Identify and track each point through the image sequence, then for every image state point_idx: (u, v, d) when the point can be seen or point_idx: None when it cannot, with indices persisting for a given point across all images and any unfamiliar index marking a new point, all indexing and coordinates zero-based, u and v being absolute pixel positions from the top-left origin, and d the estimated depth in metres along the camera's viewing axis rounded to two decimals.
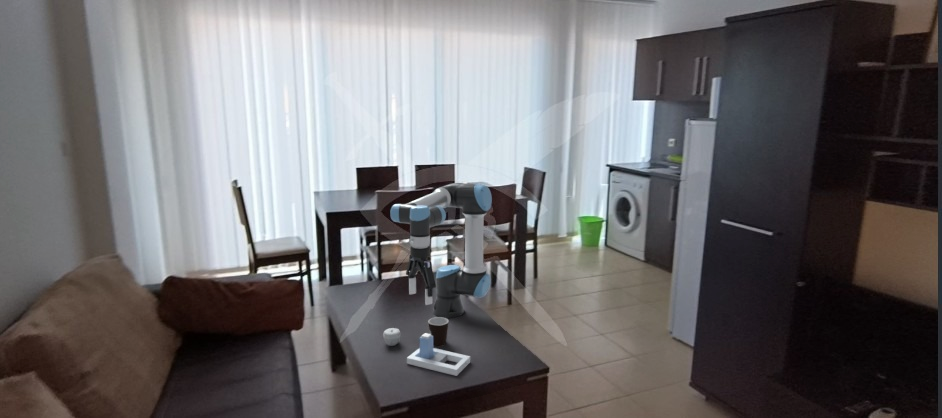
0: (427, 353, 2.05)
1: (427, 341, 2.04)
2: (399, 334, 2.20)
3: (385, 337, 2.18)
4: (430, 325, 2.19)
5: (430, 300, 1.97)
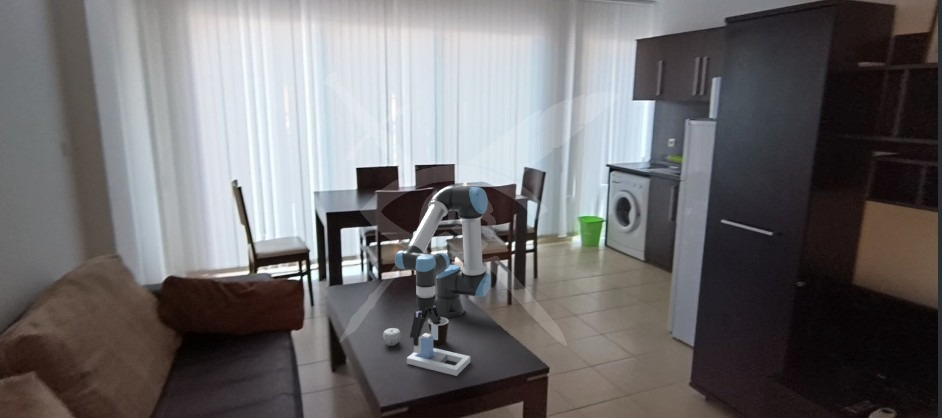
0: (427, 353, 2.05)
1: (427, 341, 2.04)
2: (399, 334, 2.20)
3: (385, 337, 2.18)
4: (430, 325, 2.19)
5: (417, 349, 2.00)
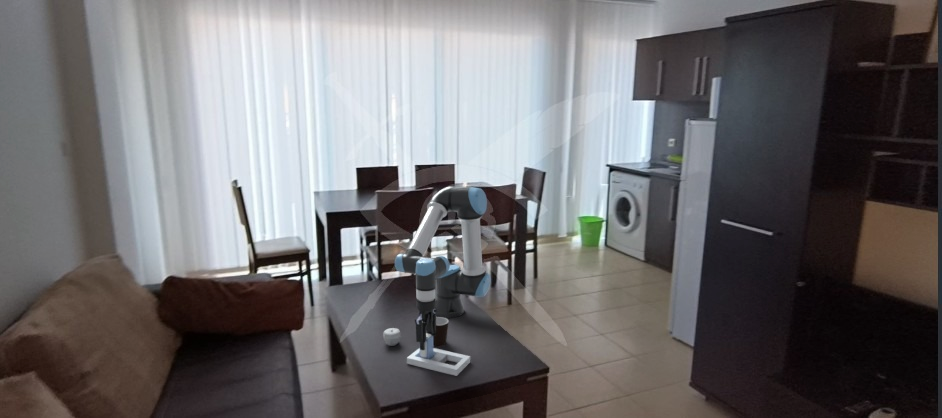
0: (427, 353, 2.05)
1: (427, 341, 2.04)
2: (399, 334, 2.20)
3: (385, 337, 2.18)
4: None
5: (424, 353, 2.05)
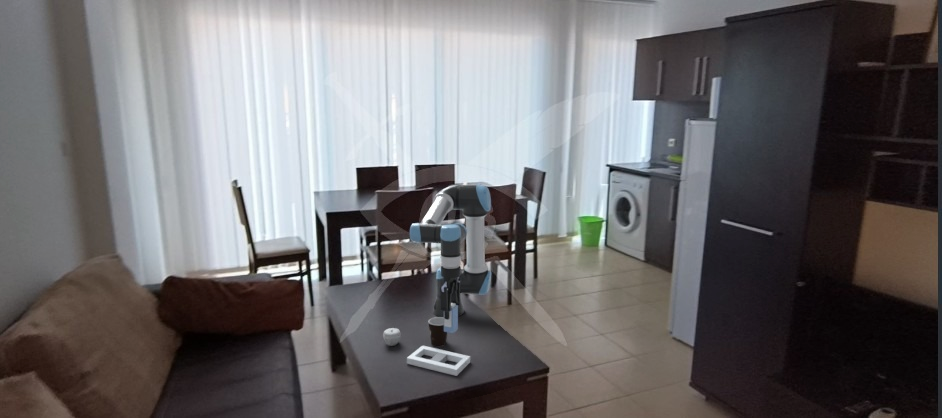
0: None
1: (452, 310, 1.96)
2: (399, 334, 2.20)
3: (385, 337, 2.18)
4: (430, 325, 2.19)
5: (448, 323, 1.97)
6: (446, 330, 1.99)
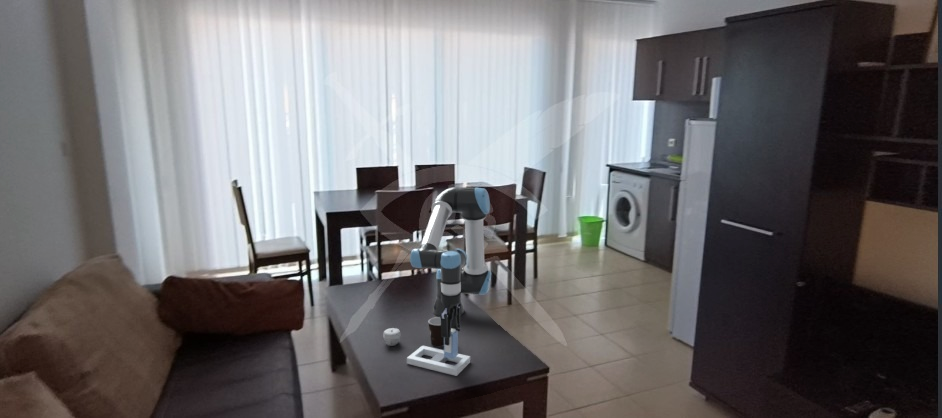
0: None
1: (452, 336, 1.98)
2: (399, 334, 2.20)
3: (385, 337, 2.18)
4: (430, 325, 2.19)
5: (448, 349, 1.99)
6: (446, 355, 2.01)
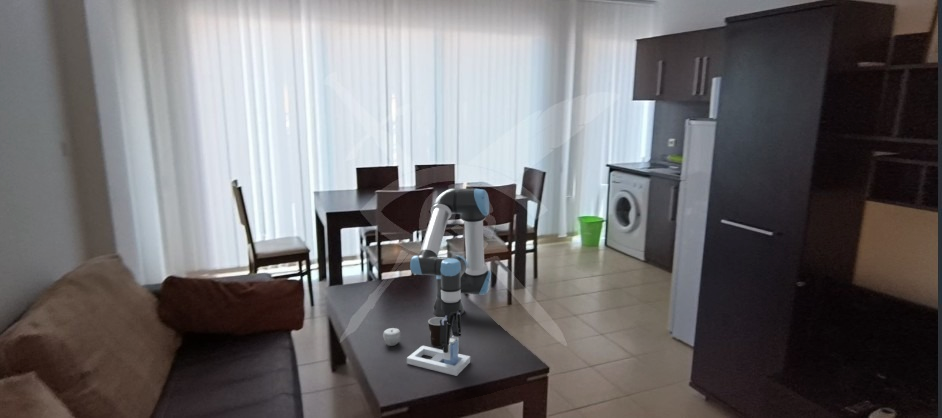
0: (451, 359, 2.00)
1: (452, 346, 1.99)
2: (399, 334, 2.20)
3: (385, 337, 2.18)
4: (430, 325, 2.19)
5: (447, 356, 1.99)
6: None
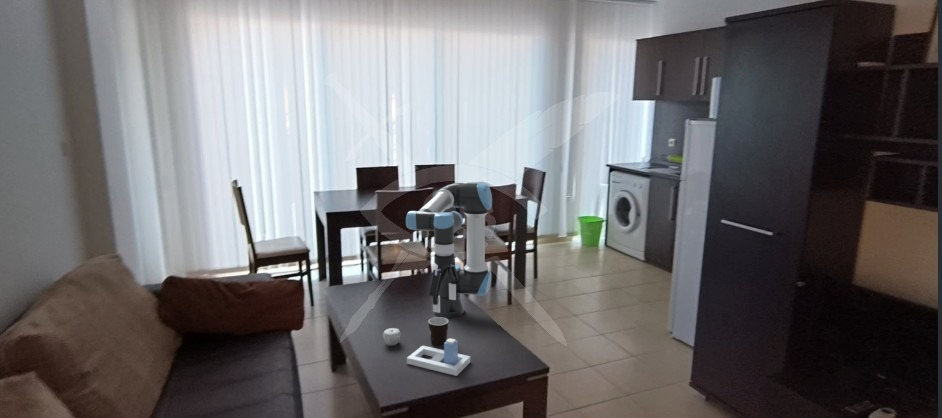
0: (451, 359, 2.00)
1: (452, 347, 1.99)
2: (399, 334, 2.20)
3: (385, 337, 2.18)
4: (430, 325, 2.19)
5: (437, 308, 1.96)
6: None
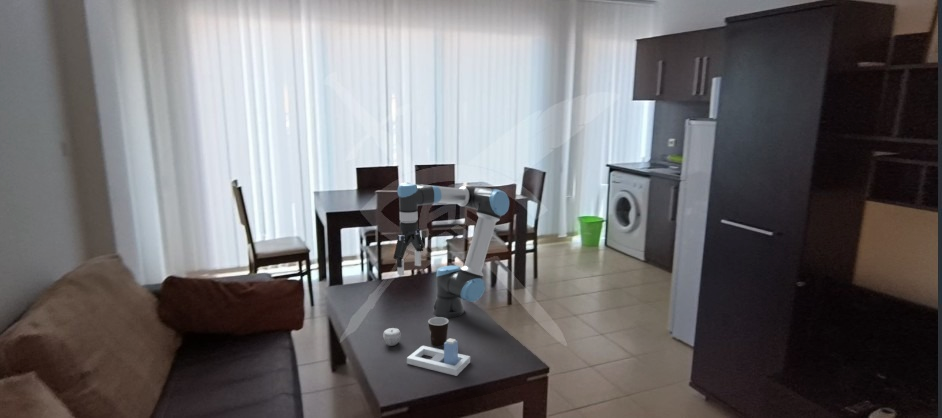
0: (451, 359, 2.00)
1: (452, 347, 1.99)
2: (399, 334, 2.20)
3: (385, 337, 2.18)
4: (430, 325, 2.19)
5: (401, 271, 2.13)
6: None
